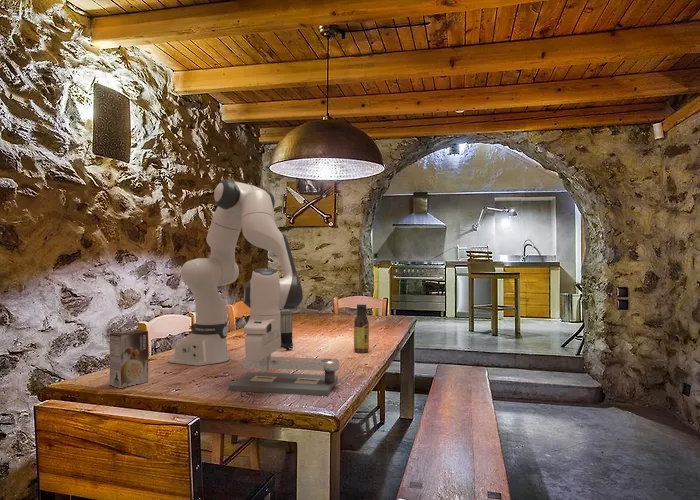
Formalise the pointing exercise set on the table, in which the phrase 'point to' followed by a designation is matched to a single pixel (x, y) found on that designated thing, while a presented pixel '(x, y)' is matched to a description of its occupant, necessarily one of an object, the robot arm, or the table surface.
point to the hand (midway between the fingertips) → (264, 370)
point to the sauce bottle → (361, 330)
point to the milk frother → (286, 329)
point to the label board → (285, 383)
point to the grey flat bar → (297, 364)
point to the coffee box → (128, 358)
